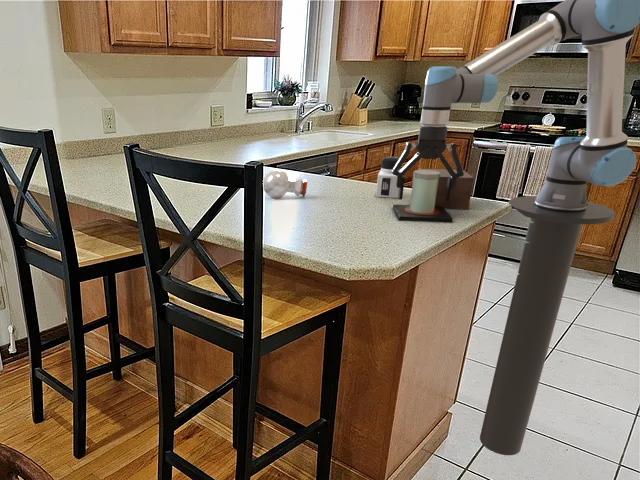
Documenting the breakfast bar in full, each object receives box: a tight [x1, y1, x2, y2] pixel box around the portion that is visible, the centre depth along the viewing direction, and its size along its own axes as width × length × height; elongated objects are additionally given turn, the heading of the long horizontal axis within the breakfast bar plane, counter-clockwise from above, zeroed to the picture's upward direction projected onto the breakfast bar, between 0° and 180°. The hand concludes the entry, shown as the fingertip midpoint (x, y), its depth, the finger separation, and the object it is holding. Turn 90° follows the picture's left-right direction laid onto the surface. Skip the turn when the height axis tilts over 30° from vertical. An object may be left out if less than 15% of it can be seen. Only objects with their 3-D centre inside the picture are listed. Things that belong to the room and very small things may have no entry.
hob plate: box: [392, 204, 453, 223], centre depth 159 cm, size 15×15×1 cm
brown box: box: [419, 168, 475, 210], centre depth 171 cm, size 14×14×10 cm
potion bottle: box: [263, 169, 308, 199], centre depth 180 cm, size 9×10×15 cm
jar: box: [409, 169, 441, 213], centre depth 157 cm, size 8×8×12 cm
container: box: [375, 156, 402, 199], centre depth 181 cm, size 8×8×13 cm
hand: (423, 199), depth 158 cm, fingers open, 13 cm apart
